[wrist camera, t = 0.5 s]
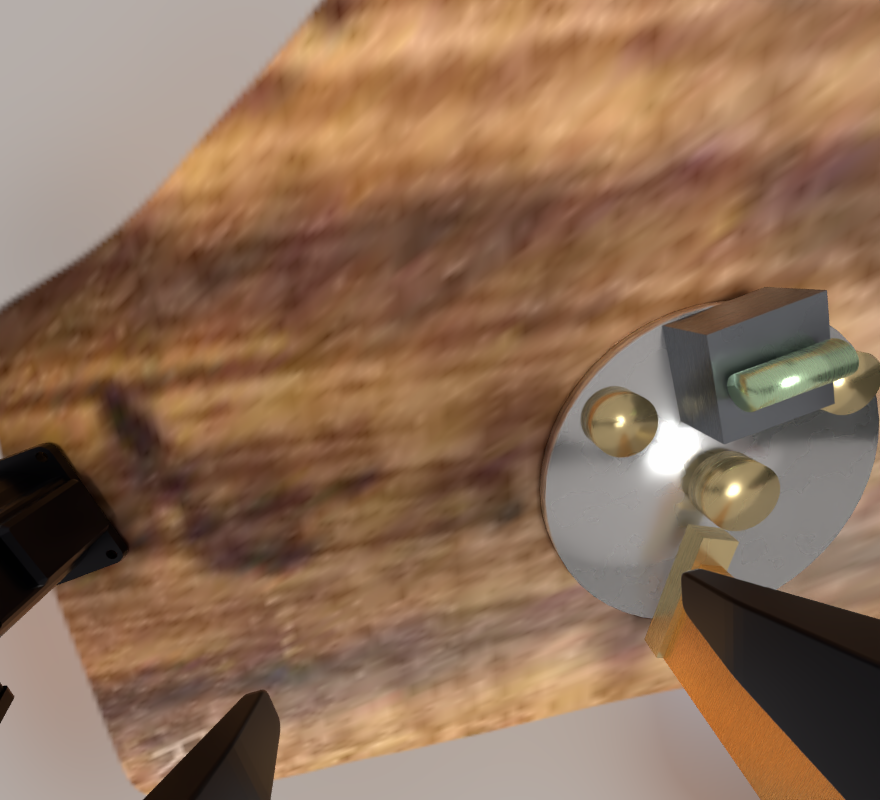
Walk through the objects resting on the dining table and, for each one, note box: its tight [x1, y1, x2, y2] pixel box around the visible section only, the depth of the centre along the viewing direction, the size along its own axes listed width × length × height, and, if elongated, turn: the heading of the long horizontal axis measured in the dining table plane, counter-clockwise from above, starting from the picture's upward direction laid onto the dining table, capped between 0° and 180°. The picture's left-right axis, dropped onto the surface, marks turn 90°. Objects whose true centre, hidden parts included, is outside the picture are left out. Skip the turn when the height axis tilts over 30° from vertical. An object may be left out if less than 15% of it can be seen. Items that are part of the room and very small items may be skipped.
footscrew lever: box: [645, 451, 845, 800], centre depth 19 cm, size 12×4×10 cm, turn 170°
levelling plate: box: [540, 287, 880, 618], centre depth 21 cm, size 18×18×6 cm
